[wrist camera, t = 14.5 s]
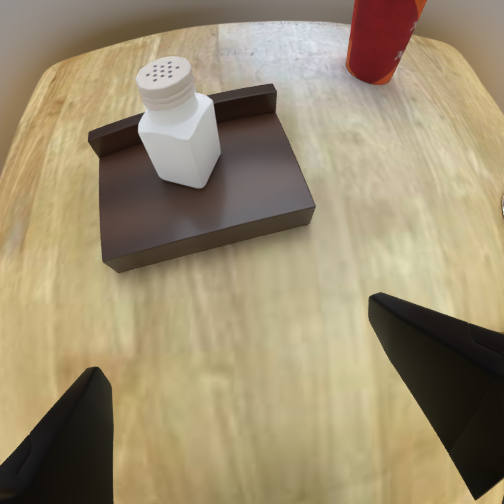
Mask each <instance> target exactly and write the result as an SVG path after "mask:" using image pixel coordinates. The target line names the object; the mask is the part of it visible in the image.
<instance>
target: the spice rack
mask: <svg viewBox="0 0 504 504" xmlns="http://www.w3.org/2000/svg"><path fill="white" fill-rule="evenodd" d="M207 96H208V97H209V98H210V99H212V101H213V105H214V111H215V118H216V124H217V130H218V136H219V143H220V149H221V154H220V156H219V158H218V160H217V162H216V164H215V166H214V168H213V170H212V172H211V175H210V177H209V179H208V181H207V183H206V185H205V186H204V187H203V188H194V187H190V186H186V185H182V184H178V183H174V182H170V181H166V180H163V179H162V178H161V177H159V175H158V173H157V171H156V169H155V167H154V165H153V163H152V161H151V159H150V157H149V155H148V153H147V150H146V148H145V146H144V144H143V142H142V140H141V138H140V135H139V133H138V124H139V122H140V120H141V118H142V116H143V114H144V113H145V112H144V113H141V114H138V115H135V116H131V117H128V118H125V119H122V120H120V121H117V122H114V123H111V124H108V125H106V126H103V127H100V128H97V129H95V130H92V131H90V132H89V134H88V142H89V144H90V145H91V147H92V148H93V150H94V151H95V153H96V154H97V156H98V157H99V210H100V233H101V249H102V261H103V262H104V263H105V264H106V265H108V266H109V267H111V268H112V269H113V270H115V271H116V272H118V273H120V272H124V271H128V270H131V269H135V268H139V267H143V266H147V265H150V264H154V263H158V262H162V261H165V260H169V259H173V258H177V257H181V256H185V255H188V254H192V253H196V252H200V251H204V250H208V249H212V248H216V247H220V246H223V245H227V244H231V243H235V242H239V241H243V240H247V239H251V238H255V237H259V236H263V235H267V234H271V233H275V232H279V231H283V230H287V229H291V228H295V227H299V226H303V225H307V224H310V221H311V219H312V216H313V213H314V210H315V207H316V206H315V203H314V201H313V198H312V196H311V193H310V191H309V188H308V186H307V183H306V181H305V179H304V176H303V174H302V171H301V169H300V167H299V164H298V162H297V160H296V157H295V155H294V153H293V150H292V148H291V146H290V143H289V141H288V139H287V137H286V134H285V132H284V130H283V128H282V125H281V123H280V121H279V119H278V117H277V114H276V97H277V91H276V89H275V87H274V85H273V84H265V85H259V86H253V87H247V88H242V89H236V90H231V91H226V92H221V93H217V94H212V95H207Z"/></svg>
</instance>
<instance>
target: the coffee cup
mask: <svg viewBox="0 0 504 504" xmlns="http://www.w3.org/2000/svg"><path fill="white" fill-rule="evenodd" d="M426 1H427V0H355V4H354V11H353V18H352V25H351V32H350V38H349V45H348V52H347V60H346V67H347V69H348V71H349V72H350V73H351V74H352V75H353V76H355V77H356V78H358V79H360V80H362V81H364V82H367V83H370V84H376V85H382V84H386V83H388V82H389V81H390V79H391V77H392V76H393V74H394V72H395V70H396V68H397V66H398V64H399V61H400V59H401V57H402V55H403V53H404V51H405V49H406V46H407V44H408V42H409V40H410V38H411V35H412V33H413V31H414V29H415V26H416V24H417V22H418V20H419V17H420V15H421V13H422V10H423V8H424V6H425V3H426Z"/></svg>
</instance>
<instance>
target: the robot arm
mask: <svg viewBox="0 0 504 504" xmlns="http://www.w3.org/2000/svg"><path fill="white" fill-rule="evenodd" d="M368 317H369V321H370V324H371V325H372V327H373V329H374V331H375V333H376V335H377V337H378V339H379V341H380V343H381V345H382V347H383V349H384V351H385V353H386V354H387V356H388V358H389V360H390V361H391V363H392V364H393V366H394V367H395V369H396V370H397V372H398V373H399V375H400V376H401V378H402V380H403V381H404V383H405V384H406V386H407V387H408V389H409V390H410V392H411V393H412V395H413V397H414V398H415V400H416V401H417V403H418V404H419V406H420V408H421V409H422V411H423V412H424V414H425V416H426V417H427V419H428V420H429V422H430V424H431V425H432V427H433V429H434V430H435V432H436V433H437V435H438V437H439V438H440V440H441V442H442V443H443V445H444V447H445V449H446V450H447V452H448V453H449V456H450V457H451V459H452V461H453V462H454V464H455V466H456V468H457V469H458V471H459V473H460V475H461V476H462V478H463V480H464V482H465V484H466V485H467V487H468V489H469V491H470V493H471V494H472V496H473V498H474V499H475V500H477V499H479V498H480V497H481V496H483V495H484V494H485V493H487V492H488V491H489V490H490V489H492V488H493V487H494V486H495V485H497V484H498V483H499V482H500V481H501V480H503V479H504V334H503V333H499V332H495V331H492V330H489V329H486V328H483V327H480V326H477V325H474V324H471V323H469V324H468V322H465V321H462V320H459V319H457V318H454V317H451V316H448V315H445V314H442V313H439V312H437V311H434V310H431V309H428V308H425V307H422V306H419V305H416V304H414V303H411V302H408V301H405V300H402V299H399V298H396V297H394V296H391V295H388V294H385V293H382V292H379V293H376V294H373V295H371V296H370V297H369V307H368ZM113 434H114V424H113V405H112V387H111V384H110V382H109V381H108V379H107V378H106V376H105V375H104V373H103V372H102V370H101V369H100V368H99V367H90V368H87V369H86V370H85V371H84V372H83V373H82V374H81V375H80V376H79V378H78V379H77V380H76V381H75V382H74V383H73V384H72V385H71V386H70V388H69V389H68V390H67V391H66V392H65V393H64V394H63V395H62V397H61V398H60V399H59V400H58V401H57V402H56V403H55V404H54V406H53V407H52V408H51V409H50V410H49V411H48V412H47V414H46V415H45V416H44V417H43V418H42V419H41V421H40V422H39V423H38V424H37V425H36V426H35V428H34V429H33V430H32V431H31V432H30V435H28V436H27V437H26V438H25V439H24V441H23V442H22V443H21V444H20V445H19V446H18V447H17V449H16V450H15V451H14V452H13V453H12V454H11V455H10V456H9V457H8V458H7V459H6V460H5V461H4V462H3V463H2V464H1V465H0V504H114V503H113ZM502 504H504V496H503V500H502Z"/></svg>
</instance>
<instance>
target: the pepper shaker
mask: <svg viewBox="0 0 504 504" xmlns="http://www.w3.org/2000/svg"><path fill="white" fill-rule="evenodd" d="M135 81H136V84H137V86H138V89H139V91H140V94H141V97H142V99H143V104H144V106H145V107H146V109H147V110H146V111H145V113H144V114H143V116H142V118H141V120H140V122H139V124H138V133H139V135H140V138H141V140H142V142H143V144H144V146H145V148H146V150H147V153H148V155H149V157H150V159H151V161H152V163H153V165H154V167H155V169H156V171H157V173H158V175H159V177H161V178H162V179H163V180H166V181H170V182H174V183H178V184H182V185H186V186H190V187H194V188H203V187H204V186H205V185H206V183H207V181H208V179H209V177H210V175H211V172H212V170H213V168H214V166H215V164H216V162H217V160H218V158H219V156H220V154H221V149H220V143H219V136H218V130H217V124H216V118H215V111H214V105H213V101H212V99H210V98H209V97H208V96H206V95H202V94H199V93H196V86H195V82H194V76H193V71H192V66H191V64H190V63H189V62H188V60H187V59H185V58H181V57H177V56H172V57H163V58H160V59H157V60H155V61H152V62H150V63H148V64H147V65H146V66H144V67H143V68H142V69H141V70H139V72H138V74H137V76H136V78H135Z"/></svg>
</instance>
